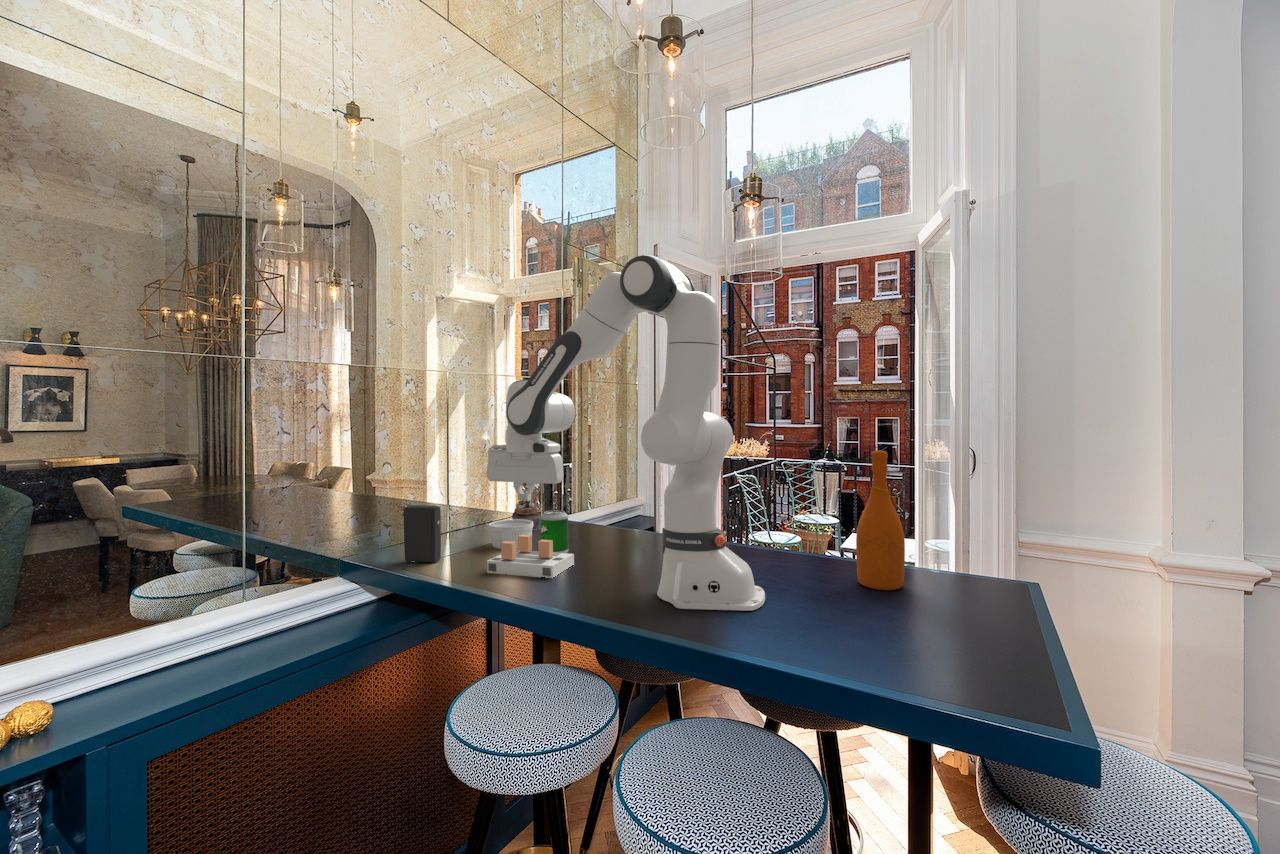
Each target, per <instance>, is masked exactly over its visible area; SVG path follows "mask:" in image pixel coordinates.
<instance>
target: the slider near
mask: <svg viewBox="0 0 1280 854" xmlns="http://www.w3.org/2000/svg"><path fill="white" fill-rule="evenodd" d="M516 550H517V549H516V542H511V541H505V542H502V543H501V549H500V551H501V553H500V555H501V559H507V560H513V559H515V558H516Z"/></svg>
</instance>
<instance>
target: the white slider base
mask: <svg viewBox="0 0 1280 854" xmlns="http://www.w3.org/2000/svg"><path fill="white" fill-rule="evenodd" d="M572 565H574V566H575V554H574V553H568V552H567V553H553V556H552V557H551V558H541V557H538V551H535V550H532V551H530V552H518V549H516V558H515V559H513V560H507V559H501V554H499V555H497V556H494V557H493V558H490V559H488V560H486V573H487V574H494V575H495V574H496V575H506V574H507V576H518V577H519V576H520V577H532V578H541V577H545V578H544V579H554V578H553V577H555V576H556V577H558V576H559V575H561V574H562V573H561V572H563V571H564V570H566V569H568V568H569V567H571V566H572ZM571 568H572V567H571ZM569 569H570V568H569ZM569 569H568V570H569ZM566 571H567V570H566ZM564 572H565V571H564ZM564 572H563V573H564ZM560 573H561V574H560ZM558 574H559V575H558ZM557 575H558V576H557ZM556 577H555V578H556Z"/></svg>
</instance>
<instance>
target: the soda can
mask: <svg viewBox="0 0 1280 854" xmlns="http://www.w3.org/2000/svg"><path fill="white" fill-rule="evenodd" d="M540 540H553V553H568V552H569V515H568V514H567V513H566V512H565V510H557V509H556V510H547V511H544V512H543V513H542V514H540Z"/></svg>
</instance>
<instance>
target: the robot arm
mask: <svg viewBox="0 0 1280 854" xmlns="http://www.w3.org/2000/svg"><path fill="white" fill-rule="evenodd" d="M622 268H623V269H622V270H621V272H620V271H619V272H618V271H612V272H610V273H608V274H606V275H605V276H604V277H603V279H602V280H601V281H600V282H599V283H598V285H597V286H596V288H595V289H594V290H593V292H592V293H591V294H590V296H589V298H588V299H587V301H586V303H585V304H584V306H583V308H582V309H581V311H580V313H579V314H578V316H577V317H576V319H575V320H574V321H573V323H572V324H571V325H570V326H569V327H568V329H566V331H565V332H563V333H562V334H561V335H560V336H559V337H558V338H557V339H556V340H555V342H553V344H552V345H551V346H550V348H549V349H548V350H547V352H546V353H545V355H544V356H543V358H542V359H541V361H540V363H539V364H538V365H537V367H536V368H535V370H534V371H533V372H532V373H531V375H530V377H529V378H528V379H521V380H517V381H514V382H512V383H511V384H510V385H508V389H507V392H506V398H505V399H506V400H505V417H506V421H507V422H506V423H507V427H506V431H505V443H506V444H494V445H492V446H491V447H490V448H489V449H488V450H487V454H488V455H487V458H488V459H487V466H486V479H487V481H489V482H500V483H501V482H502V483H503V482H504V483H505V482H506V483H513V485H512V486H513V489H514V491H515V493H516V494H517V501H524V502H525V501H530V502H531V500H532V493H533V492H534V490H535V488H536V484H548V485H550V484H552V485H553V484H559V483H561V482H562V481H563V479H564V462H563V458H562V457H563V456H562V455H561V454H560V453H559V452H561V444H560V443H558V442H556V441H553V440H550V439H547V438H544V437H543V434H545V433H546V434H547V433H548V434H549V433H560V432H565V431H567V430H568V429H570V427H572V426H573V424H574V421H575V419H576V413H577V411H576V407H575V404H574V402H573V401H574V400H572V398H571V397H569V396H568V395H566V394H563V393H560V392H556V390H557V388H558V387H559V386H560V384H561V382H562V381H563V380H564V378H565V377H566V376H567V374H568V373H569V372H570V371H571V370H572V369H574V368H575V367H576V366H579V365H581V364H582V363H586V362H588V361H592V360H596V359H600V358H604V357H606V356H608V355H610V354H611V353H612V352H613V351H614V350H615V349H616V347H617V346H618V345H619V344H620V342H621V341H622V339H623V337H624V336H625V334H626V332H627V330H628V328H629V327H630V325H631V323H632V322H633V321H634V319H635V317H637V315H640V313H643V312H647V314H650V315H654V316H656V317H660V318H663V319H664V320H665V322H666V326H667V335H666V339H667V340H666V354H665V355H666V356H665V357H666V358H665V373H664V374H665V375H664V381H663V387H662V390H661V393H660V396H659V399H658V403H657V405H656V408H655V410H654V412H653V413H652V415H651V416H650V417H649V418H648V419H647V420H646V422H645V423H644V425H643V426H642V428H641V434H640V443H641V446H642V450H643V452H644V453H645V455H646V456H647V457H648V458H649V459H651V460H652V461H654V462H656V463H660V464H664V465H671V466H675V467H674V473H673V475H672V478H671V480H670V482H669V483H668V485H667V486H666V488H665V490H664V493H663V523H664V524H663V525H664V527H662V531H661V550H662V555H663V557H662V558H663V561H662V566H661V567H662V569H661V570H662V571H661V575H660V576H661V577H660V582H659V585H658V589H657V592H656V595H657V597H658V598H659V599H661V600H663V601H665V602H667V603H670V604H671V605H673V606H674V607H675V608H676V609H681V610H711V611H714V610H715V611H716V610H717V611H746V612H747V611H751V612H752V611H755V610H758V609H759V608H760V607H763V605H764V604H765V602H766V592H765V590H764V589H763V588H762V587H761V586H760V585H755V581H754V580H755V579H754V575H753V571H752V569H751V566H749V564H748V562H746V561H745V560H743V559H742V558H741V557H739V555H737V554H736V553H734V552H733V551H732V550H730V549H729V548H728V547H727V531H726V530H724V531H723V530H721V529H720V528H718V527H717V494H718V493H717V492H718V485H719V480H720V476H721V471H722V467H723V463H724V459H725V457H726V454H727V453H728V451H729V450H730V448H731V446H732V445H733V441H734V432H733V428H732V426H731V424H730V423H729V422H728V420H727V419H726V418H724V417H722V416H721V415H718V414H716V413H714V412H710V411H705V409H706V406H707V403H708V400H709V397H710V396H711V395H710V394H711V393H712V391H713V390H714V389H715V388H716V386H717V385H718V381H719V365H720V363H719V361H720V339H721V338H720V320H719V311H718V305H717V302H716V300H715V299H714V298H713V297H712V296H711V295H709V294H708V293H705V292H702V291H696V287H695V285H694V283H693V281H692V280H691V279H690V277H689V276H688V275H686V274H685V273H683V272H682V271H680V270H679V269H678V268H677V267H676V266H675V265H673V264H671V263H669V262H667V261H664V260H662V259H661V258H659V257H658V256H655V255H649V254H641V255H638V256H635V257H632V258H631V259H629V260H628V262H626V264H625V265H624V267H622ZM525 483H526V484H525ZM523 484H525V485H526V488H527V490H526V492H524V491H523V488H522V487H523Z"/></svg>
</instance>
